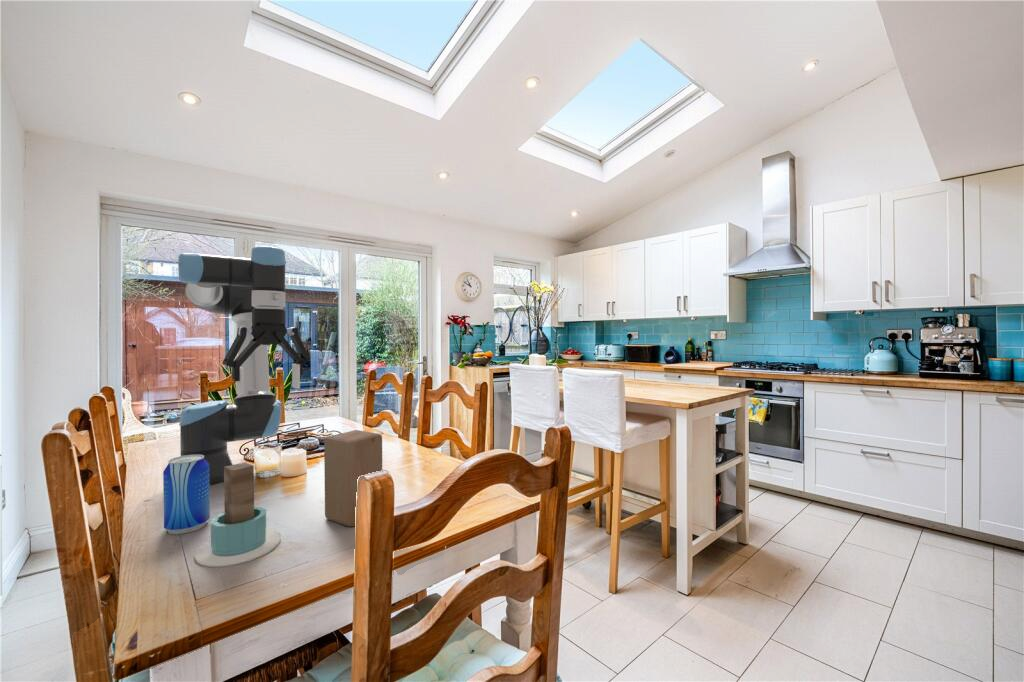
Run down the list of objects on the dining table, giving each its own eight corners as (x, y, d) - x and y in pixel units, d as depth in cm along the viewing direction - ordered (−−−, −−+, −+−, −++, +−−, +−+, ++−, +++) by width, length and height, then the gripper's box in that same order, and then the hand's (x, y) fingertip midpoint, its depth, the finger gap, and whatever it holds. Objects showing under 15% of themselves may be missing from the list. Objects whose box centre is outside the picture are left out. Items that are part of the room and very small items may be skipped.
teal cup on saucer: (183, 551, 87) (182, 519, 87) (261, 524, 99) (260, 496, 99) (212, 575, 79) (212, 540, 78) (294, 543, 91) (293, 512, 91)
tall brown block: (224, 538, 88) (224, 466, 88) (245, 531, 92) (245, 462, 91) (233, 544, 86) (232, 470, 86) (254, 536, 89) (253, 465, 89)
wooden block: (384, 513, 106) (383, 433, 106) (350, 529, 97) (350, 442, 97) (357, 505, 111) (356, 428, 111) (323, 519, 102) (322, 436, 102)
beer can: (172, 522, 101) (171, 455, 100) (214, 517, 104) (213, 451, 103) (157, 538, 93) (156, 465, 93) (203, 532, 96) (202, 461, 96)
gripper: (218, 305, 96) (219, 399, 97) (323, 309, 116) (323, 387, 117) (206, 306, 101) (207, 395, 102) (309, 310, 121) (309, 384, 122)
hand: (269, 391), depth 109 cm, fingers open, 13 cm apart
